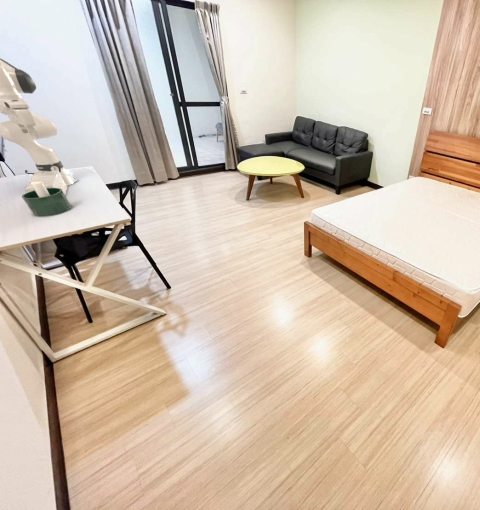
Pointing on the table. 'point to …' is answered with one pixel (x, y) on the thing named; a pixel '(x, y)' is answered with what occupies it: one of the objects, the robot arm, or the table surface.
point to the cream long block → (48, 180)
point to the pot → (47, 202)
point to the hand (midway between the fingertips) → (29, 134)
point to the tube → (40, 189)
